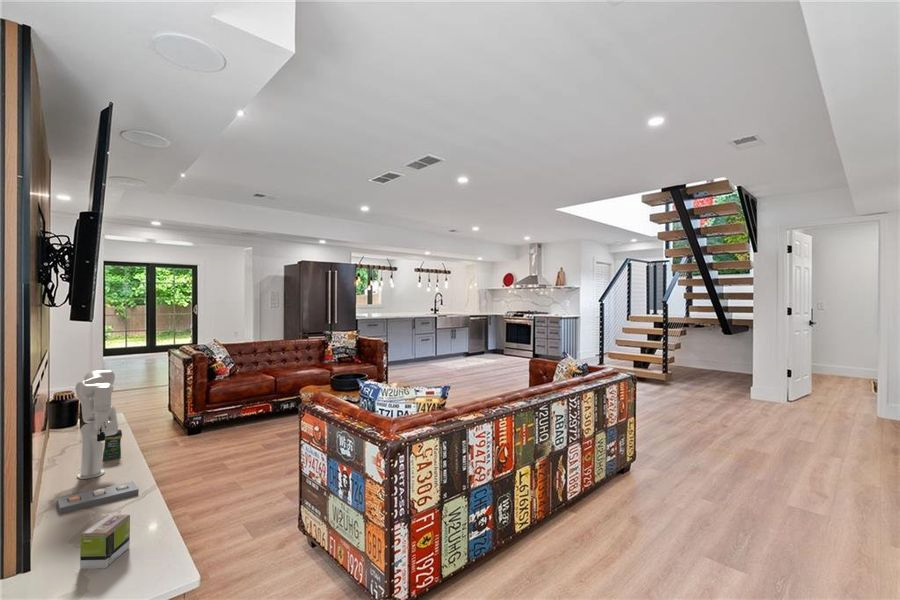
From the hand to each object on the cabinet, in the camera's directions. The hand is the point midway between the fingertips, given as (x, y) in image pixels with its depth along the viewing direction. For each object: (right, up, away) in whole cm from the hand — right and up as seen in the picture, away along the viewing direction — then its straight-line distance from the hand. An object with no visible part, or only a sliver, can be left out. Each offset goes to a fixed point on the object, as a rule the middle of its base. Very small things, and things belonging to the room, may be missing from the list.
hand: (100, 440), depth 240 cm
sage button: (+15, -27, -4) cm, 31 cm away
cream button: (+9, -26, -12) cm, 30 cm away
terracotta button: (+2, -26, -19) cm, 33 cm away
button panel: (+9, -27, -12) cm, 31 cm away
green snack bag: (-29, -27, +45) cm, 60 cm away
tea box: (+52, -29, -62) cm, 86 cm away
